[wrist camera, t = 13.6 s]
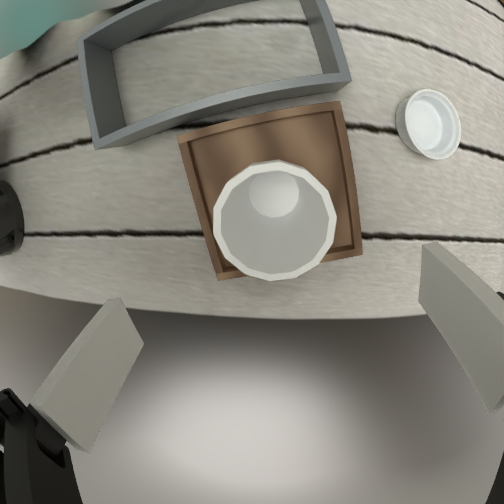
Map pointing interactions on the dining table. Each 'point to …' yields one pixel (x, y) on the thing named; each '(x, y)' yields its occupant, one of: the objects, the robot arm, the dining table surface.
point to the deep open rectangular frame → (118, 134)
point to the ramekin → (429, 124)
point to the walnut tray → (273, 148)
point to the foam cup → (274, 220)
